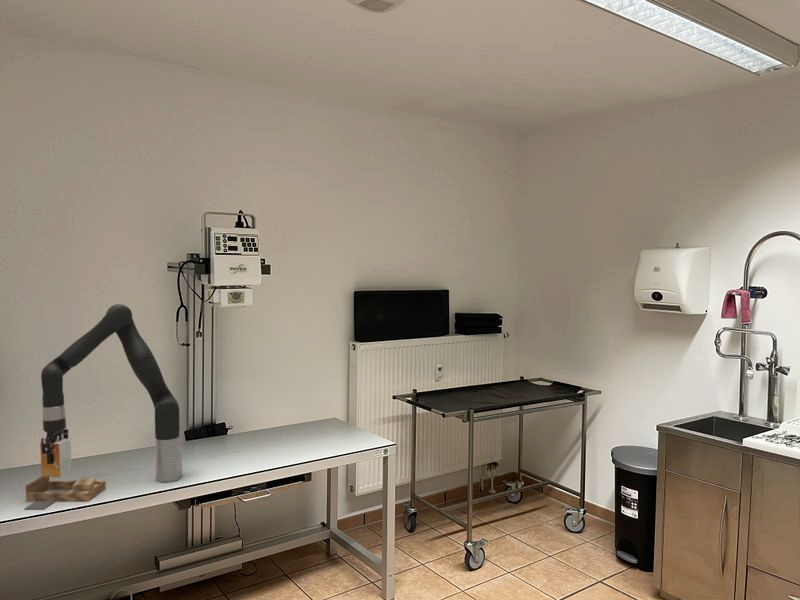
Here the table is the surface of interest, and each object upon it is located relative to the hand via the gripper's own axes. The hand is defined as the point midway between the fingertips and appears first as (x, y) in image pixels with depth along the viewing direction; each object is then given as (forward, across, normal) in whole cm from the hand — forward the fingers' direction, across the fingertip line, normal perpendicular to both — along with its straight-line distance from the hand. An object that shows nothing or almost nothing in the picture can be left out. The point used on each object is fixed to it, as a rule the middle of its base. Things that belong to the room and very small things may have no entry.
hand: (56, 460), depth 228 cm
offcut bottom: (+14, 0, -10) cm, 17 cm away
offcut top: (+11, 0, -10) cm, 15 cm away
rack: (+13, 0, -4) cm, 14 cm away
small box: (+6, 0, 0) cm, 6 cm away
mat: (+13, -11, 0) cm, 17 cm away
